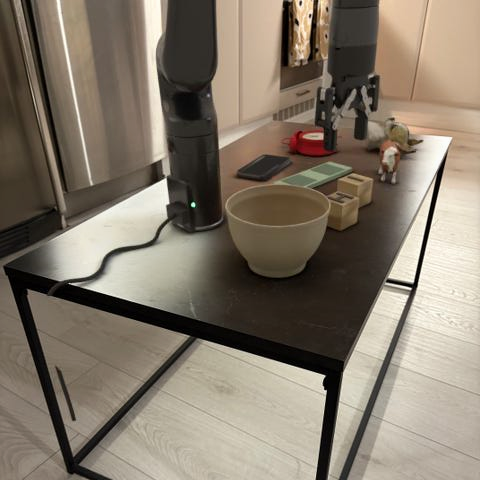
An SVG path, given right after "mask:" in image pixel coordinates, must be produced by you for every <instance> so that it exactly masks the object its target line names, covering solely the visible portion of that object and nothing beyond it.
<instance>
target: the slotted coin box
mask: <svg viewBox="0 0 480 480" xmlns="http://www.w3.org/2000/svg"><path fill="white" fill-rule="evenodd" d="M373 184H374V178H371V177H367V176H365V175H360V174H357V173H355V172H354V173H353V172H352V173H349V174H347V175H344V177H343V176H342V177H339V178H337V186H336V192H338V191H339V192H342V193H345V194H348V195H352V196H355V197H358V198H359V206H358V209H360V208H362V207H364V206H366V205H368V204H370V203H371V200H372V193H373Z"/></svg>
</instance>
